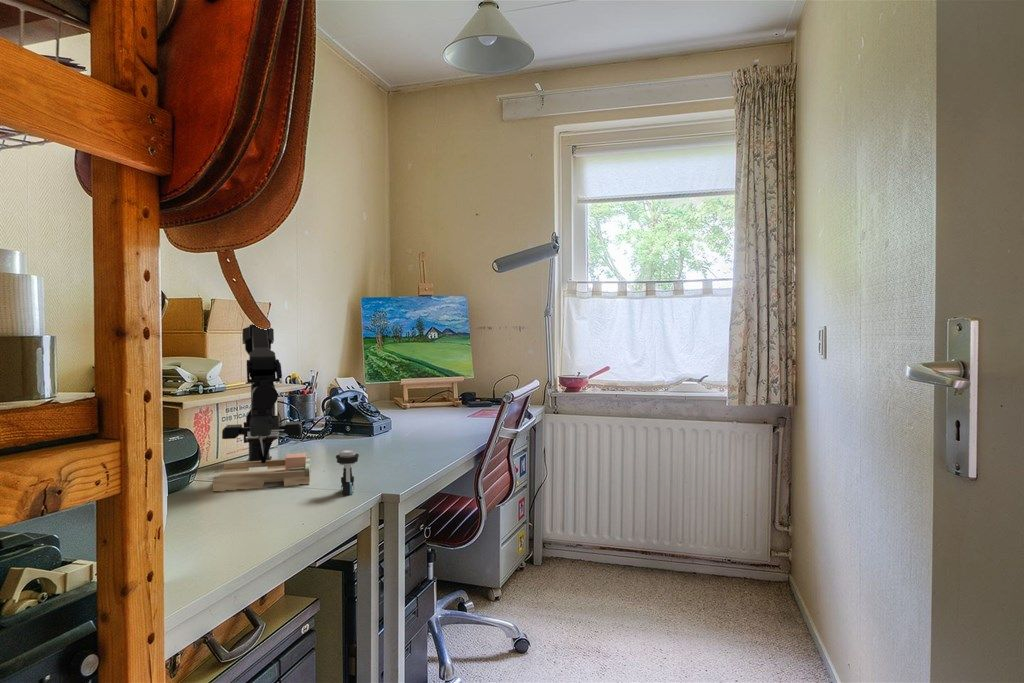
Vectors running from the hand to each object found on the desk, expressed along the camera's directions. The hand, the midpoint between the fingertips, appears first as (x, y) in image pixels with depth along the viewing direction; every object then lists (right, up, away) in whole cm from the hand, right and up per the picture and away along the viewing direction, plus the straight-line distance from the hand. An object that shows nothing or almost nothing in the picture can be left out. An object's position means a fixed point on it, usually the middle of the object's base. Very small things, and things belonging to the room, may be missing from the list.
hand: (263, 462), depth 150 cm
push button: (+25, -5, -11) cm, 28 cm away
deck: (0, -5, 0) cm, 5 cm away
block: (+7, -3, +2) cm, 8 cm away
